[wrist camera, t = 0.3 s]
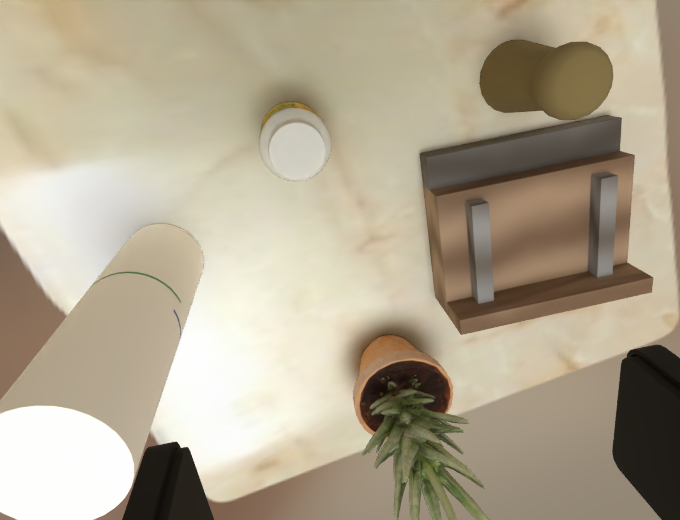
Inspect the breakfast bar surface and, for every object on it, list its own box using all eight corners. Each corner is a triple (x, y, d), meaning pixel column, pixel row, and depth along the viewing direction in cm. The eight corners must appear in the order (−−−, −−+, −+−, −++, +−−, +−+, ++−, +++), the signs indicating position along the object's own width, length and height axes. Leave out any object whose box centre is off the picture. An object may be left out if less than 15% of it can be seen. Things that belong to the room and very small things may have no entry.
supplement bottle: (290, 176, 44) (295, 206, 35) (247, 131, 42) (240, 150, 33) (335, 134, 43) (351, 154, 34) (293, 86, 41) (298, 94, 32)
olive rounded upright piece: (477, 46, 41) (543, 42, 31) (545, 33, 42) (632, 25, 32) (481, 118, 44) (543, 136, 34) (545, 105, 44) (626, 119, 34)
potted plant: (448, 351, 53) (578, 569, 30) (388, 408, 55) (469, 652, 32) (384, 300, 50) (477, 503, 27) (322, 363, 52) (361, 600, 29)
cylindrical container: (137, 300, 46) (3, 538, 23) (113, 230, 43) (-66, 423, 20) (212, 287, 47) (153, 508, 24) (193, 217, 44) (105, 391, 21)
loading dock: (419, 153, 44) (446, 171, 37) (607, 115, 45) (667, 125, 38) (435, 297, 50) (461, 334, 43) (600, 260, 51) (651, 292, 44)
